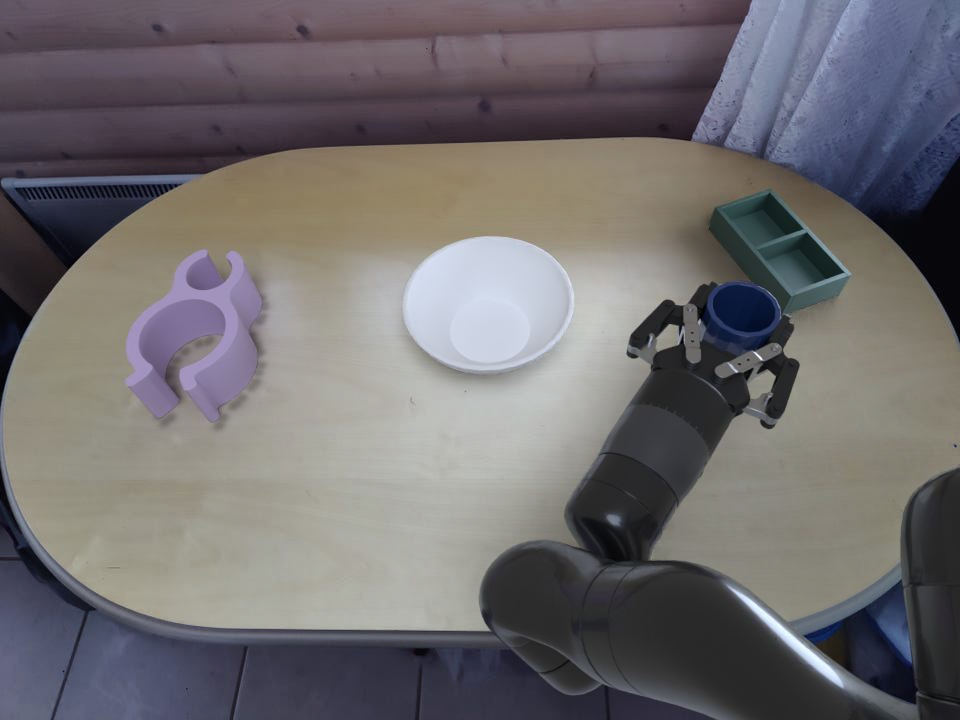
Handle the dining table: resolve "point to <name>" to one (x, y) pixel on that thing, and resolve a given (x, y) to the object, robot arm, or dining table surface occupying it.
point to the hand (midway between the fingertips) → (747, 304)
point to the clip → (197, 336)
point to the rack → (778, 251)
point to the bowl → (488, 304)
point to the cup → (739, 317)
